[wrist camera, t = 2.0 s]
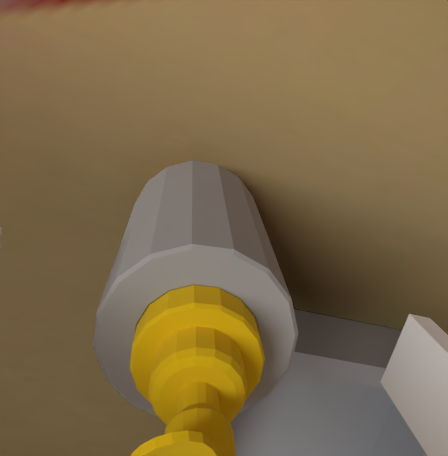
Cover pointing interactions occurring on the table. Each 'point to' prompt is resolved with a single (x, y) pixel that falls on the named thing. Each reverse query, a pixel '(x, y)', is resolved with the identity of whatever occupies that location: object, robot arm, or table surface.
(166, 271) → the soap bottle
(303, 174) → the table surface
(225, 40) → the table surface
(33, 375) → the table surface
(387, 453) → the box
